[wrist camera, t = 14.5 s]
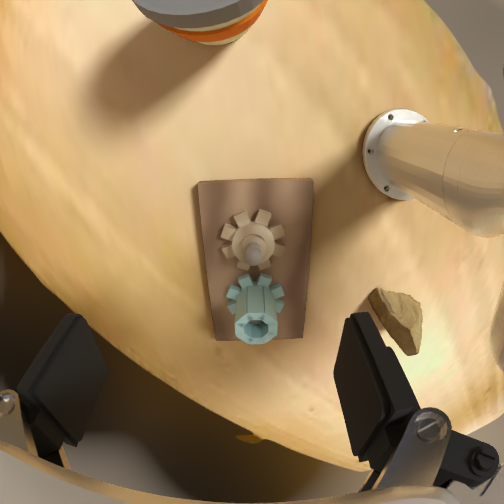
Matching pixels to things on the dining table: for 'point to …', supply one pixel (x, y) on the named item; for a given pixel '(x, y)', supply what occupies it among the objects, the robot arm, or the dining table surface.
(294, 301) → the gear board
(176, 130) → the dining table surface
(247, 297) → the loose cog
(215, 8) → the reusable coffee cup
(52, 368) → the robot arm
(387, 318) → the rock
